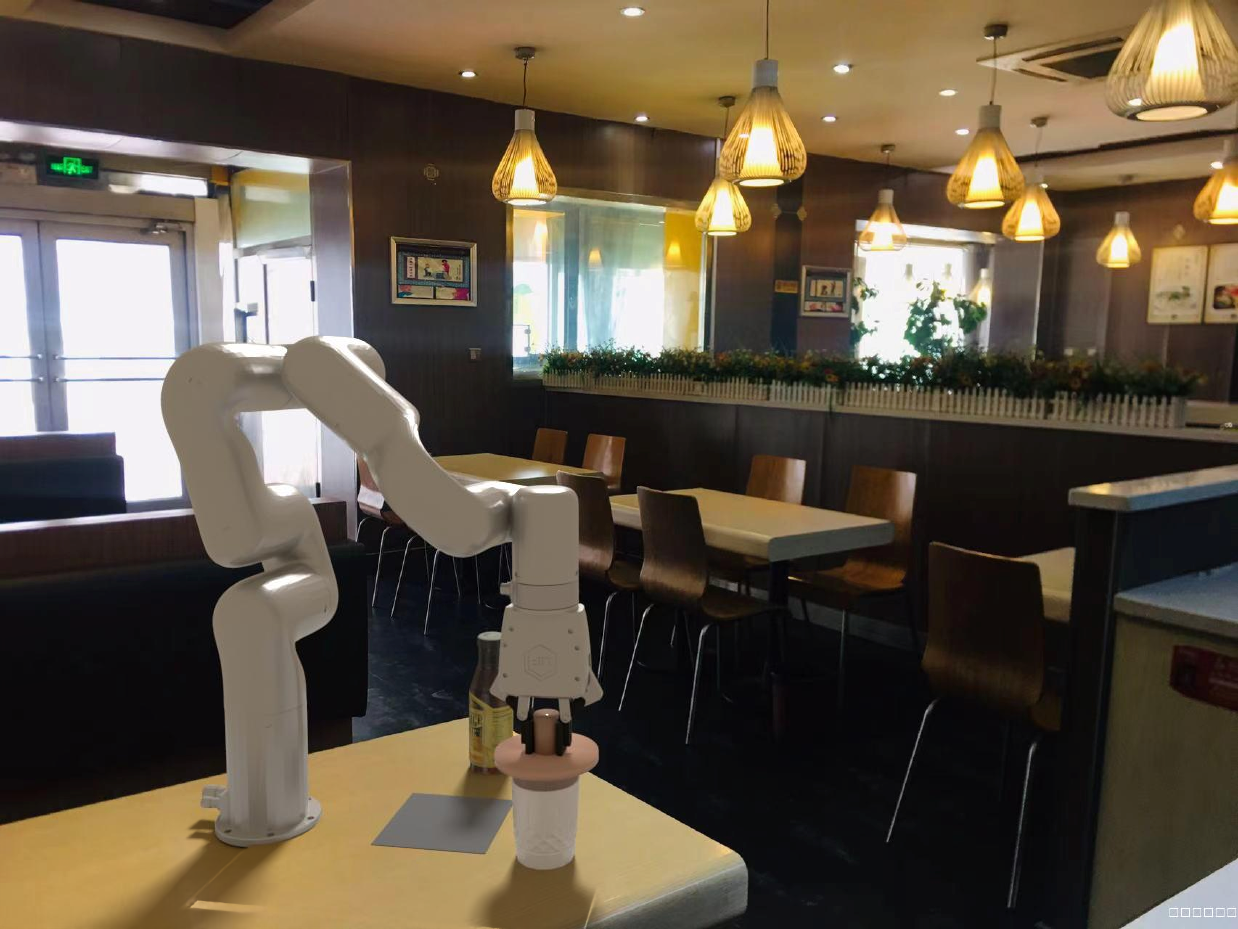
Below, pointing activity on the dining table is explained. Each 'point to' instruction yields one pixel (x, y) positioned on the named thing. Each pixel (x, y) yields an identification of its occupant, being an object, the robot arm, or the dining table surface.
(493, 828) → the mat
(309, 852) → the dining table surface
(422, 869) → the dining table surface
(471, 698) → the sauce bottle
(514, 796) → the white cup
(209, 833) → the dining table surface
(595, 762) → the lid
